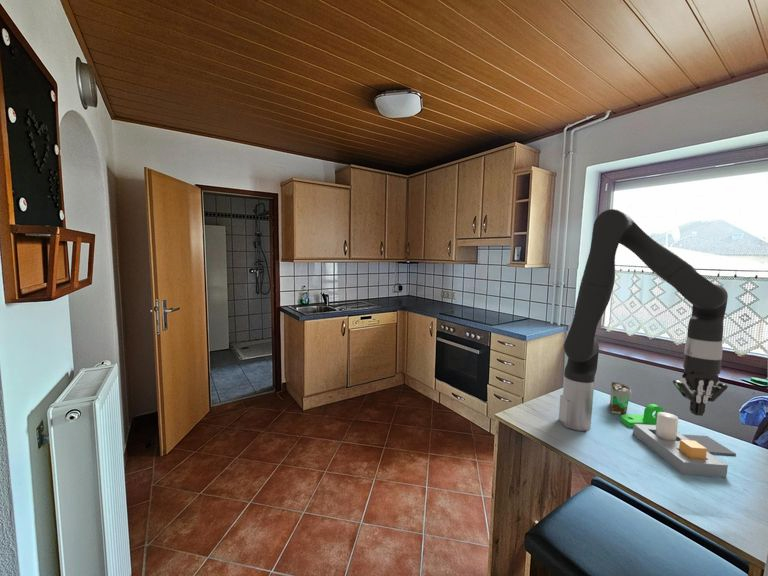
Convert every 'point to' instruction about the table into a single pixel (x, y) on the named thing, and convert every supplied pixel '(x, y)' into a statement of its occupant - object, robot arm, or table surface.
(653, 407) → the mechanical part
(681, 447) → the orange cube
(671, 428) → the white upright cylinder
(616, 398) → the food container
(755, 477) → the table surface
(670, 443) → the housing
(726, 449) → the mat
